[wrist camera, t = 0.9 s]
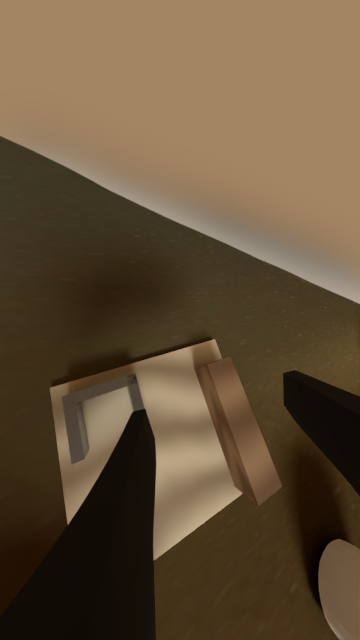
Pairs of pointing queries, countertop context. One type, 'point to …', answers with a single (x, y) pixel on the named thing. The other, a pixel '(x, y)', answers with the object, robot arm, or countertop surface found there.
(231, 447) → the rail
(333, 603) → the cup
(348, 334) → the countertop surface
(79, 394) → the bracket
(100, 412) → the mounting board
